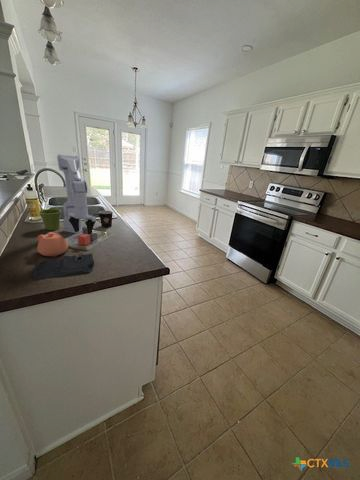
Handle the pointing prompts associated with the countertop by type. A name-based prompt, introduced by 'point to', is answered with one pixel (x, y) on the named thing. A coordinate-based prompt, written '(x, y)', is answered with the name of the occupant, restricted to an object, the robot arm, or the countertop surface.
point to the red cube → (84, 239)
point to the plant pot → (50, 218)
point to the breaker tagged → (93, 236)
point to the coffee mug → (105, 218)
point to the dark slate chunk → (63, 267)
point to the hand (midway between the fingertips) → (83, 232)
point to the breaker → (84, 230)
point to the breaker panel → (101, 237)
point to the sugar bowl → (51, 244)
